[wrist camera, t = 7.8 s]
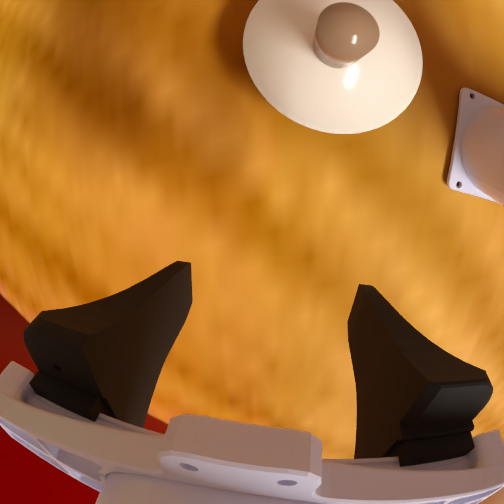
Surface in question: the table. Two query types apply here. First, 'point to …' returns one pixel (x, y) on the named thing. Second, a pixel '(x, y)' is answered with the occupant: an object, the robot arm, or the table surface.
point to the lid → (334, 61)
